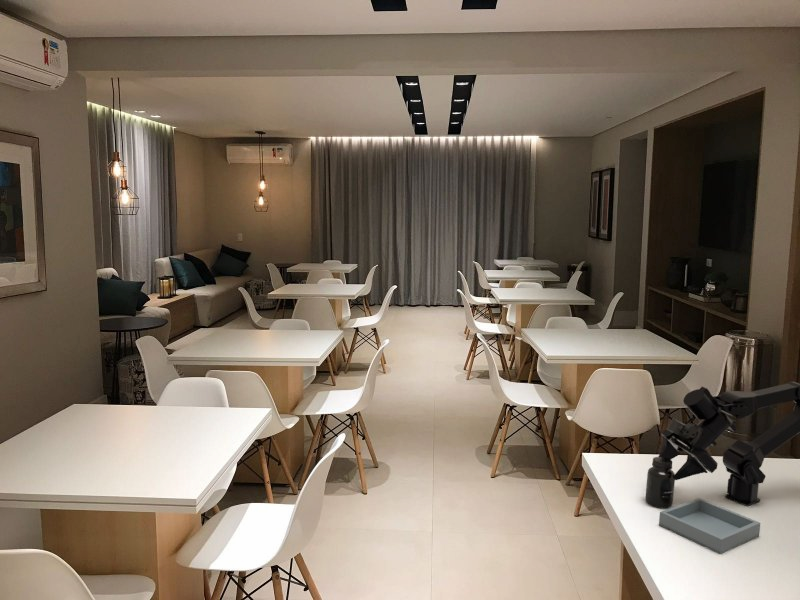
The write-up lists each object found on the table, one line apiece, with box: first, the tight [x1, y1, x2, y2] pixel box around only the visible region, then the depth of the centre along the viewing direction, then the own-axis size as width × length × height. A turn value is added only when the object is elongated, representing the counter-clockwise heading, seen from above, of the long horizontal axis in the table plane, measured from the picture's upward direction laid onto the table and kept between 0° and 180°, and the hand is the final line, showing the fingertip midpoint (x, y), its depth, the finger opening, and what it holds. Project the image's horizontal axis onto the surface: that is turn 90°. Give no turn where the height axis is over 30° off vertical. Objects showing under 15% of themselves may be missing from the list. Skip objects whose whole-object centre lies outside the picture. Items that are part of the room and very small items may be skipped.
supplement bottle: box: [644, 456, 676, 509], centre depth 177 cm, size 7×7×12 cm
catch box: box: [658, 497, 761, 555], centre depth 163 cm, size 16×16×4 cm
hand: (665, 471), depth 177 cm, fingers open, 9 cm apart
